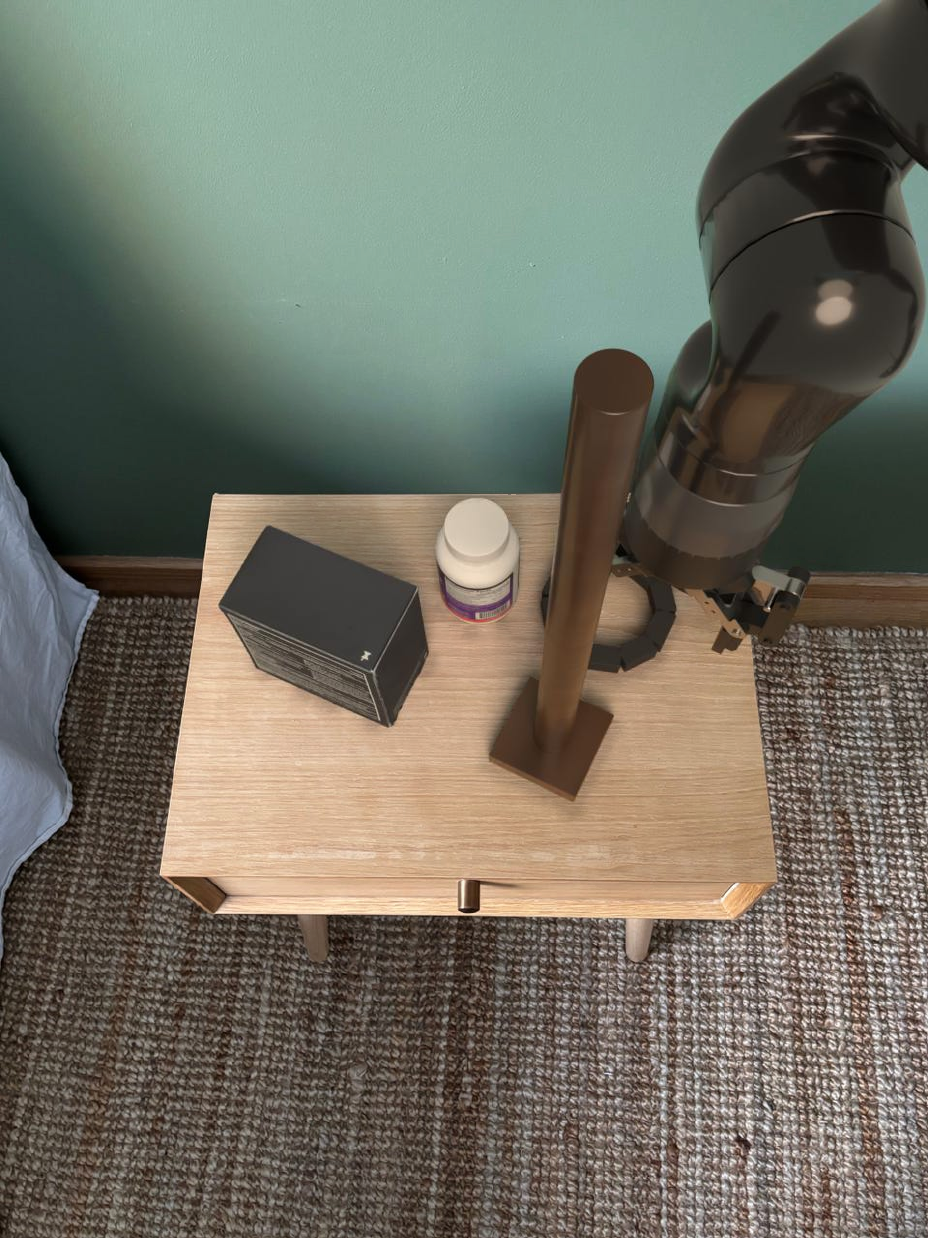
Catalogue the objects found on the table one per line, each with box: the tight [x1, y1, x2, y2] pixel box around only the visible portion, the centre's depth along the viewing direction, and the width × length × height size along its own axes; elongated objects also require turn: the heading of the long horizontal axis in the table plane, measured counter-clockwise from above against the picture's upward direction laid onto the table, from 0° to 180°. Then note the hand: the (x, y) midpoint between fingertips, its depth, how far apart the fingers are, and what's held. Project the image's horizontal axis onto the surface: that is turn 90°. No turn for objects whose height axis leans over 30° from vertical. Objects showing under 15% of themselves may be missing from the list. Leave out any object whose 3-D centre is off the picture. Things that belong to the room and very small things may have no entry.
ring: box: [540, 572, 678, 674], centre depth 70 cm, size 9×9×1 cm
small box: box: [217, 524, 430, 729], centre depth 65 cm, size 11×6×10 cm, turn 65°
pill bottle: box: [434, 497, 521, 626], centre depth 67 cm, size 5×5×10 cm
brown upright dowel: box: [489, 347, 655, 803], centre depth 49 cm, size 6×6×40 cm
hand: (659, 612), depth 67 cm, fingers open, 8 cm apart
